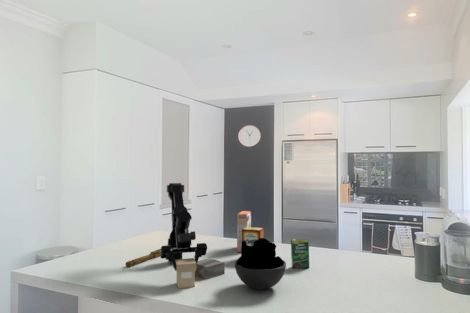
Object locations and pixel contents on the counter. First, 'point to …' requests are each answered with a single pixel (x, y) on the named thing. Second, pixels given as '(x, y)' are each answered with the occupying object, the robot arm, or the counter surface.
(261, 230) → the baking soda box
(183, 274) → the box
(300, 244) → the coffee box
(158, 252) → the tap handle
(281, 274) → the coal bowl
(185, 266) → the box lid
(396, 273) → the counter surface
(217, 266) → the block
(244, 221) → the cracker box
